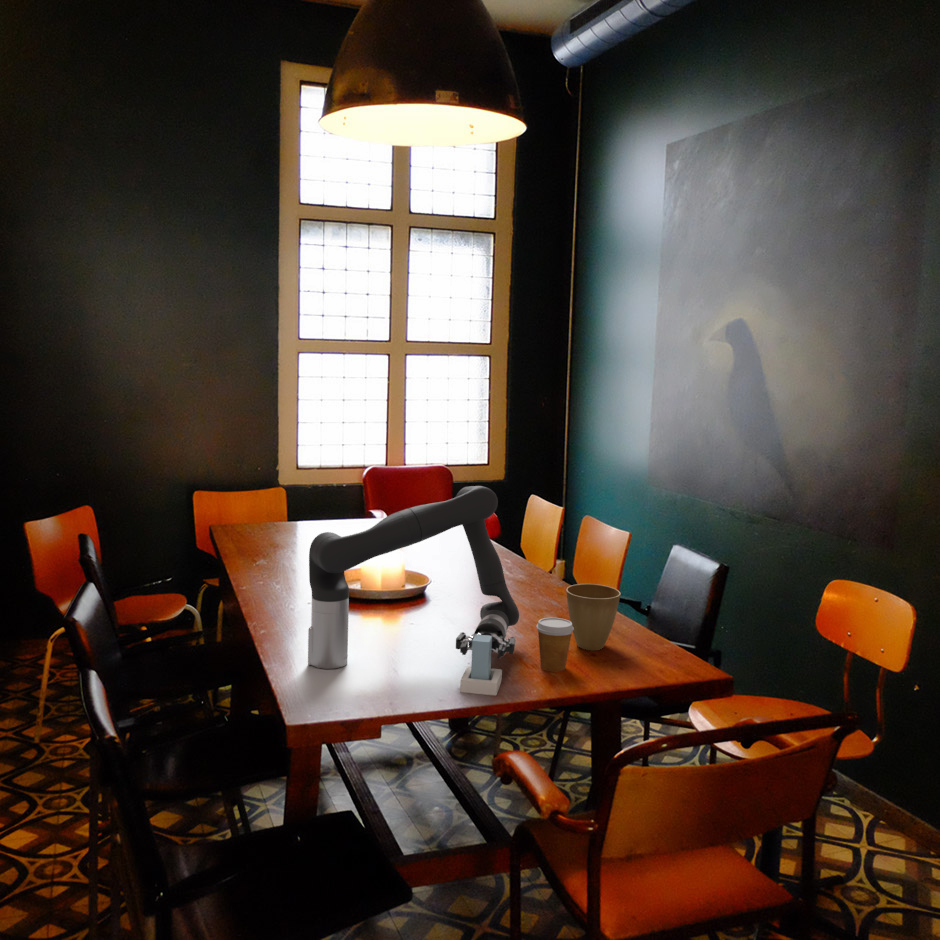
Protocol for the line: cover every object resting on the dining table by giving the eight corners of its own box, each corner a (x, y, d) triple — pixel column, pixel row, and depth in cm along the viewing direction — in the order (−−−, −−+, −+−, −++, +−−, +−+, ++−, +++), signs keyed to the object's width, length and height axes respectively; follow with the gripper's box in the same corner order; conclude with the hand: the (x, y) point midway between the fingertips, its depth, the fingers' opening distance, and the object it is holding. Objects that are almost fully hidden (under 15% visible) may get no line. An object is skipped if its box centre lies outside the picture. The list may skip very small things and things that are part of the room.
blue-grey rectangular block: (470, 689, 207) (472, 640, 206) (473, 682, 212) (475, 634, 211) (487, 691, 207) (489, 642, 205) (490, 683, 212) (492, 635, 210)
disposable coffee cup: (568, 661, 230) (570, 617, 228) (574, 674, 220) (576, 628, 219) (532, 660, 229) (534, 616, 228) (536, 673, 220) (538, 627, 218)
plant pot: (554, 640, 247) (557, 585, 245) (600, 636, 252) (603, 582, 250) (578, 657, 233) (582, 599, 231) (627, 652, 239) (630, 595, 237)
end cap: (460, 692, 205) (460, 679, 205) (466, 677, 215) (467, 666, 214) (496, 695, 204) (496, 683, 204) (501, 681, 213) (501, 669, 213)
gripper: (464, 615, 223) (452, 634, 207) (519, 620, 221) (512, 639, 205) (463, 644, 224) (451, 665, 208) (518, 649, 222) (510, 670, 206)
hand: (481, 652), depth 207 cm, fingers open, 8 cm apart
